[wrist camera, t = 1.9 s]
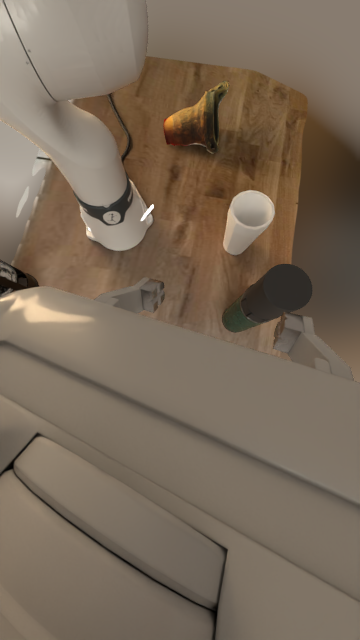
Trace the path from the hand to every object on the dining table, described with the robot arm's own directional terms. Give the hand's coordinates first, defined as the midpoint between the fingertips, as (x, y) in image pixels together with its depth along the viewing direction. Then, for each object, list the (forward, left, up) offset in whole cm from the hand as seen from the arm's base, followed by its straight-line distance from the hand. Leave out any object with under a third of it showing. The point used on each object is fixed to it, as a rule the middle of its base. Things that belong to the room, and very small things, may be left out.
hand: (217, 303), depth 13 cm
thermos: (-2, +13, -36) cm, 38 cm away
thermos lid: (-2, +13, -21) cm, 24 cm away
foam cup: (-22, +20, -36) cm, 46 cm away
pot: (-59, +22, -36) cm, 72 cm away
